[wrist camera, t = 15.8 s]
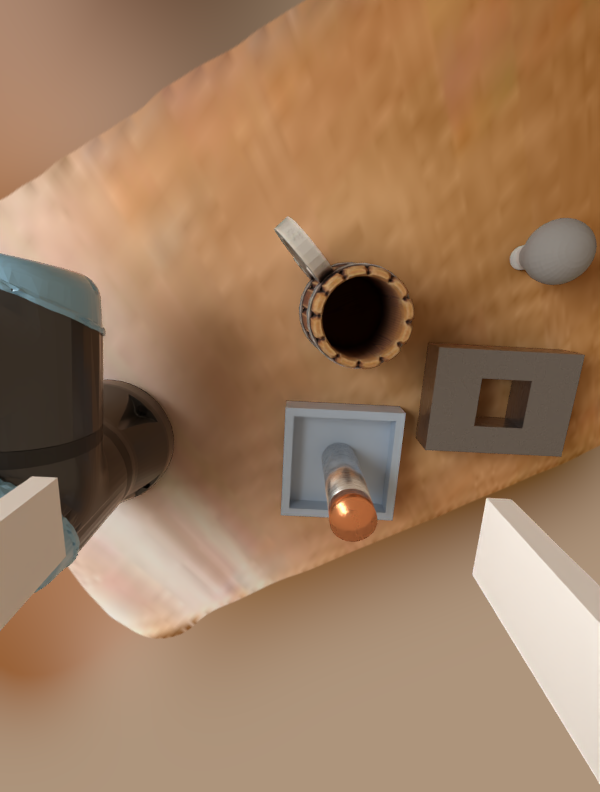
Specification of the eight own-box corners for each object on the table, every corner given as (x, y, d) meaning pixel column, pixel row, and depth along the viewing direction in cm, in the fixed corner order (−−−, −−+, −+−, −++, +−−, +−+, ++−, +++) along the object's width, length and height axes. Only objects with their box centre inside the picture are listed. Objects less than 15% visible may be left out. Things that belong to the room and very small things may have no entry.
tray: (281, 502, 53) (280, 515, 50) (286, 400, 49) (285, 407, 47) (387, 507, 53) (392, 520, 50) (399, 406, 50) (405, 413, 47)
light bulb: (533, 219, 44) (599, 198, 35) (554, 267, 46) (623, 261, 36) (484, 248, 45) (534, 236, 35) (505, 295, 46) (559, 296, 37)
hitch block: (415, 437, 51) (425, 449, 47) (428, 342, 48) (439, 347, 44) (541, 443, 51) (561, 456, 47) (561, 349, 48) (584, 354, 44)
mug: (408, 315, 47) (456, 325, 32) (338, 373, 49) (354, 408, 34) (321, 205, 44) (331, 163, 29) (250, 272, 46) (227, 263, 31)
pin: (322, 441, 50) (331, 498, 36) (358, 443, 50) (379, 500, 36) (320, 474, 51) (328, 540, 37) (354, 475, 51) (375, 542, 38)
